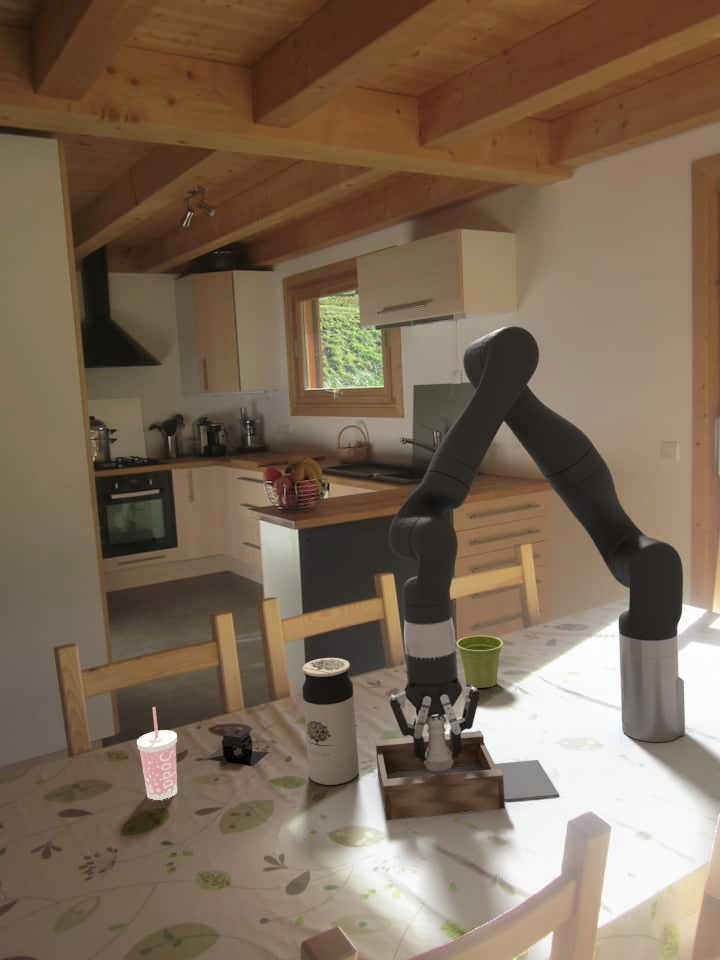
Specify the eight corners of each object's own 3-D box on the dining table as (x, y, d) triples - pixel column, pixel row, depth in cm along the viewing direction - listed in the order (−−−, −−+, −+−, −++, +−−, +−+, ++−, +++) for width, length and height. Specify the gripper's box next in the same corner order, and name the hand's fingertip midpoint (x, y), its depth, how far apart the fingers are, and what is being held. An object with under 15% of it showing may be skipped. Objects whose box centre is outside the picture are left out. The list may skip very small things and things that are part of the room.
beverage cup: (146, 807, 118) (138, 718, 117) (138, 790, 124) (129, 705, 122) (186, 795, 121) (178, 708, 120) (176, 779, 126) (168, 696, 125)
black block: (280, 754, 135) (278, 728, 134) (257, 773, 128) (255, 746, 128) (219, 745, 140) (217, 720, 139) (195, 763, 133) (193, 737, 133)
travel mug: (335, 758, 130) (327, 653, 128) (369, 772, 125) (361, 663, 123) (298, 776, 125) (290, 667, 123) (332, 792, 119) (324, 678, 117)
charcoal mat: (537, 761, 124) (537, 759, 124) (559, 796, 113) (559, 794, 113) (488, 766, 124) (488, 764, 124) (505, 801, 113) (504, 799, 113)
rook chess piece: (452, 772, 115) (449, 720, 114) (422, 772, 116) (418, 720, 115) (454, 758, 119) (451, 708, 118) (425, 758, 120) (422, 708, 119)
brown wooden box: (482, 760, 126) (480, 731, 125) (505, 808, 111) (503, 775, 111) (377, 770, 125) (375, 740, 125) (386, 820, 110) (383, 786, 110)
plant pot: (512, 679, 161) (510, 638, 160) (494, 695, 153) (491, 652, 152) (470, 673, 166) (468, 633, 165) (450, 688, 158) (448, 647, 157)
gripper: (472, 635, 120) (479, 741, 122) (380, 644, 119) (388, 751, 121) (483, 650, 112) (490, 764, 114) (384, 660, 112) (393, 774, 113)
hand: (438, 756), depth 117 cm, fingers closed on rook chess piece, 4 cm apart
